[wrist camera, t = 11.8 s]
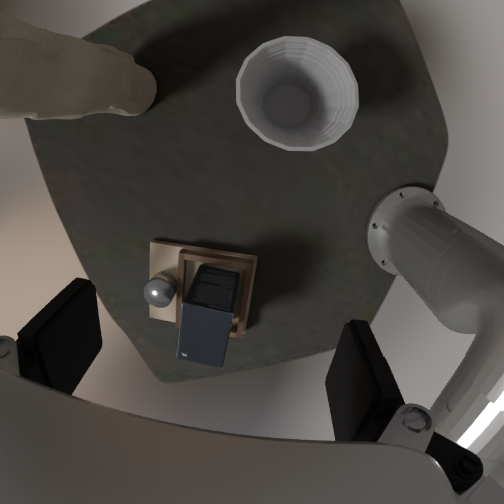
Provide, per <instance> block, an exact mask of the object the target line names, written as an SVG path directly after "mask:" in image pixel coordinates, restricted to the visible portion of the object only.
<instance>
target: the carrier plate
mask: <svg viewBox="0 0 504 504" xmlns="http://www.w3.org/2000/svg"><path fill="white" fill-rule="evenodd" d="M257 258H258V256H255V255H248V254H242V253H235V252H229V251H222V250H216V249H209V248H203V247H196V246H190V245H183V244H177V243H170V242H164V241H157V240H152V241H151V242H150V281H149V282H148V283H147V285H146V286H145V288H144V296H145V299H146V300H147V302H148V303H149V304H150V317H151V318H156V319H161V320H166V321H171V322H175V327H177V328H180V321H181V310H182V302H183V300H184V298H185V296H186V294H187V292H188V289H189V287H190V285H191V283H192V281H193V279H194V276H195V274H196V272H197V270H198V268H199V266H200V265H204V266H209V267H213V268H218V269H223V270H227V271H233V272H237V273H240V277H239V284H238V290H237V296H236V303H235V310H234V316H233V320H232V325H231V330H230V335H229V337H235V338H242V334H245V330H246V324H247V318H248V312H249V306H250V300H251V294H252V288H253V282H254V276H255V270H256V265H257Z"/></svg>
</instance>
